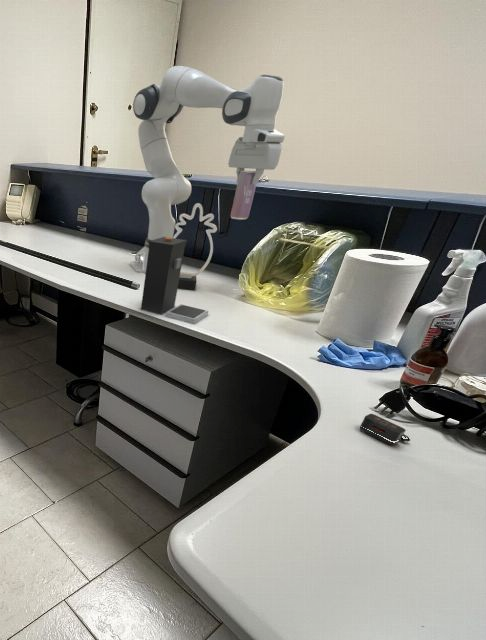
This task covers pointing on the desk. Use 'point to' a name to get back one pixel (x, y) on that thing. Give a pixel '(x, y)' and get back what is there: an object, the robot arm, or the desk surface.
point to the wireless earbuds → (383, 429)
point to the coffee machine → (166, 280)
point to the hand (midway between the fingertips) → (246, 183)
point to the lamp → (190, 279)
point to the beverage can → (243, 195)
